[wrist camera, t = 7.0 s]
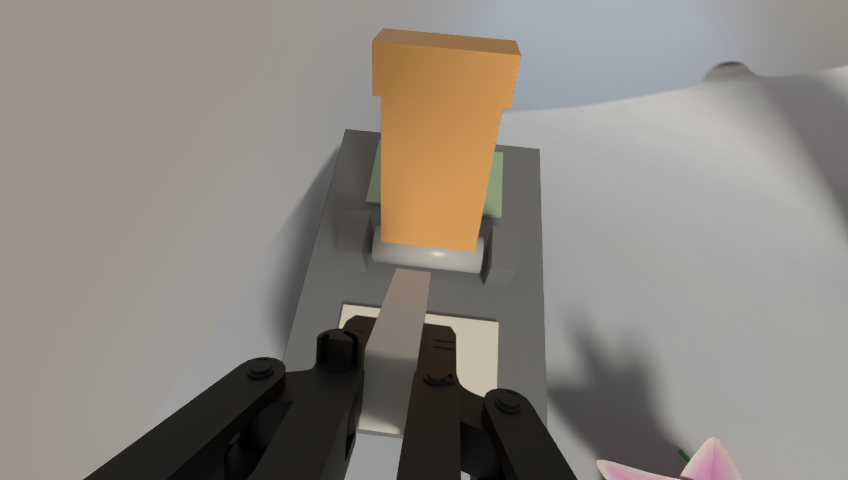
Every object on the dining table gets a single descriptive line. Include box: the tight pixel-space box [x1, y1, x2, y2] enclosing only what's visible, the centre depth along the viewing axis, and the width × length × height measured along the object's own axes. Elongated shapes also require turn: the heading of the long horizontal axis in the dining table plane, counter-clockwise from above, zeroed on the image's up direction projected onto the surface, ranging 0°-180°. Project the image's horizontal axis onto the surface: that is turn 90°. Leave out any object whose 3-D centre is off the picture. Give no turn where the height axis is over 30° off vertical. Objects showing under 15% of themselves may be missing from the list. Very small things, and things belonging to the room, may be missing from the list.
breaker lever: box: [372, 28, 521, 274], centre depth 23 cm, size 3×7×14 cm, turn 83°
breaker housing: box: [282, 129, 547, 438], centre depth 30 cm, size 22×16×11 cm
